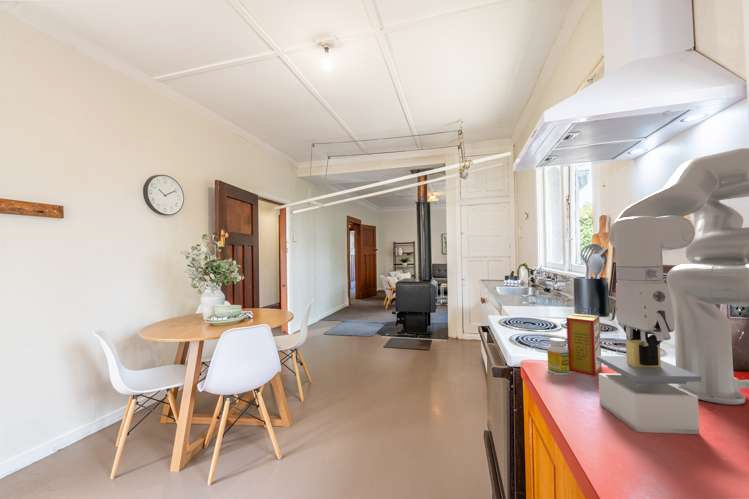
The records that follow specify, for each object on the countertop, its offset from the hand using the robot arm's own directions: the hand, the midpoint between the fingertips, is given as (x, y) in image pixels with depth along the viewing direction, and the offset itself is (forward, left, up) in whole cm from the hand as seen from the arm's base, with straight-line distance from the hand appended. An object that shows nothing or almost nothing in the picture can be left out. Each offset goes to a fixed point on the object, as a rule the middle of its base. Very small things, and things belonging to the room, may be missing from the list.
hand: (643, 361), depth 63 cm
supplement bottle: (+5, -25, -12) cm, 28 cm away
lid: (0, 0, -2) cm, 2 cm away
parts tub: (0, 0, -12) cm, 12 cm away
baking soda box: (-4, -28, -12) cm, 30 cm away
